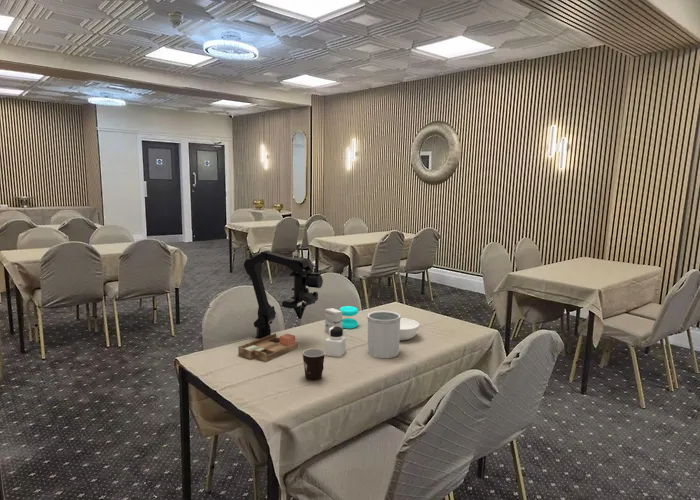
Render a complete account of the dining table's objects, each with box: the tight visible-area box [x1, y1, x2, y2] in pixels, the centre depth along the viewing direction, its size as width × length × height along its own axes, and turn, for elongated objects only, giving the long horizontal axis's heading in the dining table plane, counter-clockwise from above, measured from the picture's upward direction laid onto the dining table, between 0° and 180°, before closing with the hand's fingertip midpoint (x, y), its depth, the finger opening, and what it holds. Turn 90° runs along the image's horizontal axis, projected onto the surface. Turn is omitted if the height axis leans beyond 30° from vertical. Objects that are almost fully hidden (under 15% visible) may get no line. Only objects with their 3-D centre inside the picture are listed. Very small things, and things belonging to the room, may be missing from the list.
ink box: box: [324, 307, 343, 334], centre depth 232 cm, size 9×5×12 cm, turn 39°
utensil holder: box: [366, 310, 402, 359], centre depth 206 cm, size 15×15×18 cm
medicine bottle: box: [324, 326, 347, 358], centre depth 204 cm, size 7×7×12 cm
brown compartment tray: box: [237, 332, 299, 363], centre depth 206 cm, size 15×23×4 cm, turn 145°
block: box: [279, 333, 296, 346], centre depth 209 cm, size 5×5×4 cm
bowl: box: [399, 317, 420, 341], centre depth 227 cm, size 18×18×7 cm
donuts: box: [338, 305, 359, 330], centre depth 243 cm, size 10×10×10 cm
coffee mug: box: [302, 348, 326, 382], centre depth 178 cm, size 12×9×10 cm
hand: (300, 318), depth 215 cm, fingers closed
